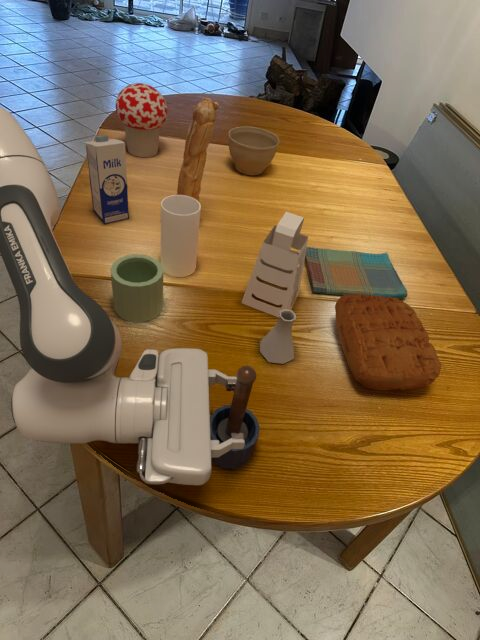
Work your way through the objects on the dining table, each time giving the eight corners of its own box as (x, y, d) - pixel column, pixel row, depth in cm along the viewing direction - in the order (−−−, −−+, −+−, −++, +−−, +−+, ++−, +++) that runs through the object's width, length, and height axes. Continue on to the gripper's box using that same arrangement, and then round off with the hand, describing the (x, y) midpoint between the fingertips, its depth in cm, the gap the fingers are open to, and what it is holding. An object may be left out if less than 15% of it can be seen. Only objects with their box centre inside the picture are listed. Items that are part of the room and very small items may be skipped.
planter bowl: (226, 155, 145) (230, 123, 137) (272, 162, 146) (278, 130, 138) (223, 176, 133) (227, 142, 126) (273, 184, 134) (280, 150, 127)
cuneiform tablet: (325, 314, 93) (336, 286, 88) (397, 319, 96) (412, 292, 90) (349, 397, 78) (364, 370, 72) (434, 400, 80) (455, 374, 74)
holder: (222, 478, 63) (227, 460, 59) (195, 438, 67) (198, 418, 63) (262, 453, 67) (269, 434, 63) (234, 417, 71) (239, 396, 67)
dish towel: (406, 302, 100) (411, 294, 99) (312, 295, 97) (314, 286, 96) (385, 259, 113) (389, 251, 111) (301, 251, 110) (303, 243, 108)
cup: (202, 263, 100) (207, 203, 89) (184, 281, 94) (188, 219, 83) (172, 251, 102) (174, 190, 91) (153, 268, 96) (153, 206, 85)
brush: (225, 463, 64) (243, 390, 51) (208, 439, 67) (222, 363, 54) (250, 448, 67) (273, 375, 54) (233, 425, 69) (251, 350, 56)
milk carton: (103, 224, 105) (95, 145, 92) (92, 211, 109) (83, 133, 95) (129, 218, 109) (125, 141, 95) (118, 206, 113) (113, 130, 99)
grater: (299, 292, 97) (323, 217, 83) (285, 320, 90) (309, 243, 76) (257, 277, 99) (274, 201, 85) (241, 303, 92) (256, 224, 78)
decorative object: (118, 139, 142) (114, 73, 128) (165, 142, 145) (166, 78, 131) (117, 160, 131) (113, 90, 117) (168, 163, 134) (169, 96, 121)
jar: (127, 328, 82) (124, 292, 75) (106, 298, 87) (101, 261, 80) (171, 312, 87) (172, 277, 80) (148, 284, 92) (148, 249, 85)
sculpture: (211, 221, 114) (224, 103, 93) (183, 230, 109) (189, 108, 88) (197, 209, 117) (206, 93, 96) (169, 217, 112) (172, 97, 91)
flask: (265, 367, 80) (275, 331, 73) (254, 339, 85) (263, 303, 78) (299, 362, 82) (313, 327, 75) (287, 335, 87) (298, 300, 80)
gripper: (133, 472, 48) (251, 470, 50) (147, 340, 62) (238, 343, 65) (135, 495, 52) (244, 492, 55) (147, 367, 67) (233, 369, 69)
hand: (241, 410), depth 60 cm, fingers open, 8 cm apart
